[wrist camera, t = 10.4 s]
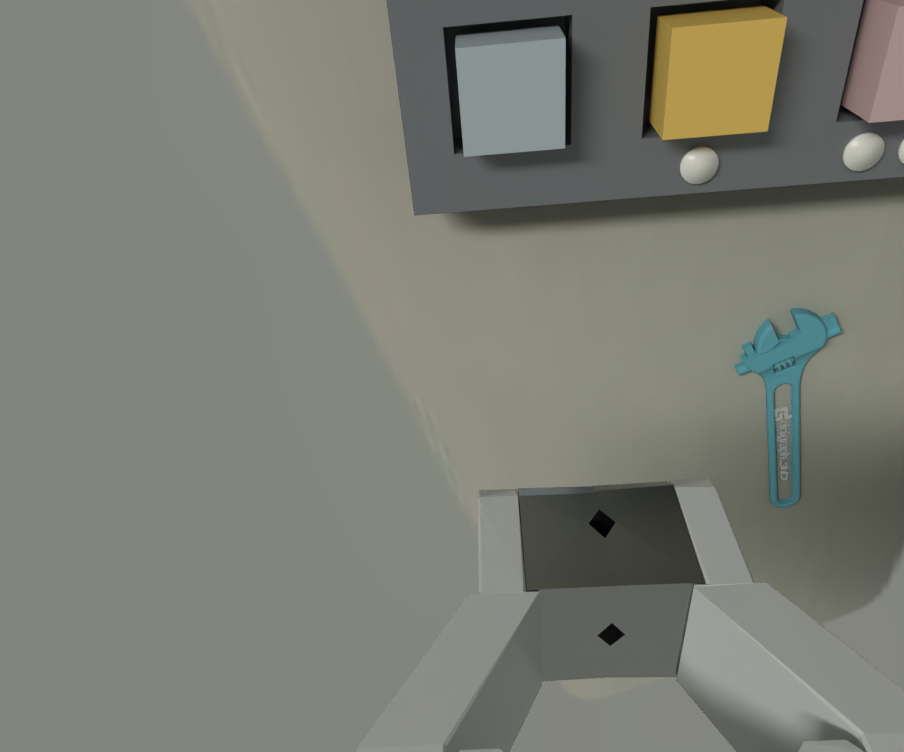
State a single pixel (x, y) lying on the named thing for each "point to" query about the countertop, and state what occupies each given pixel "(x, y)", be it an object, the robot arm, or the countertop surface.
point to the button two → (878, 64)
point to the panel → (630, 108)
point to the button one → (715, 71)
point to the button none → (512, 90)
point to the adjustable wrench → (774, 355)
